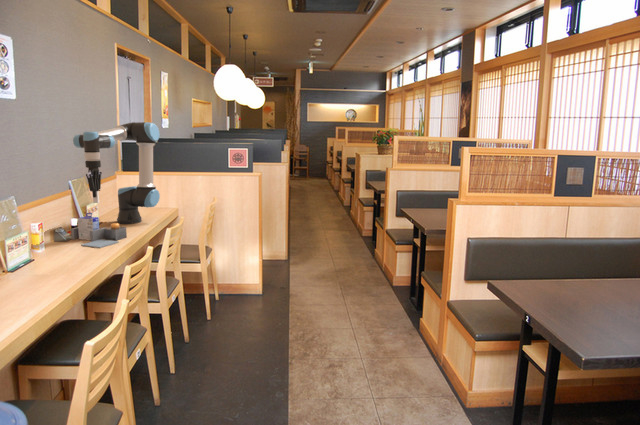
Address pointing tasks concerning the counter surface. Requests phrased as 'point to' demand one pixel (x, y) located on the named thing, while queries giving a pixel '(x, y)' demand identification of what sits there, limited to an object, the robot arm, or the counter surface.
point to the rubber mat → (100, 243)
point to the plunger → (115, 225)
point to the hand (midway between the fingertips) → (96, 202)
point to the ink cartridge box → (87, 226)
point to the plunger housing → (115, 233)
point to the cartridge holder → (94, 234)
